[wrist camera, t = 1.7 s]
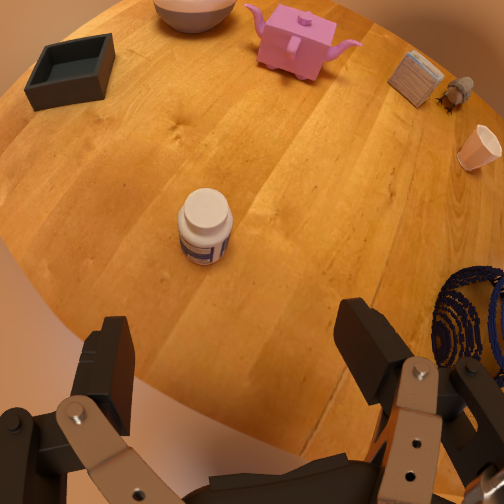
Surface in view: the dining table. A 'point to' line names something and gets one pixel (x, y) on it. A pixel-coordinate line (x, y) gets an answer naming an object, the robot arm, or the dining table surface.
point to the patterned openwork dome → (445, 333)
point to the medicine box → (415, 78)
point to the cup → (479, 149)
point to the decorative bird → (458, 91)
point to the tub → (71, 72)
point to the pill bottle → (204, 226)
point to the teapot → (296, 41)
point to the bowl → (193, 13)
